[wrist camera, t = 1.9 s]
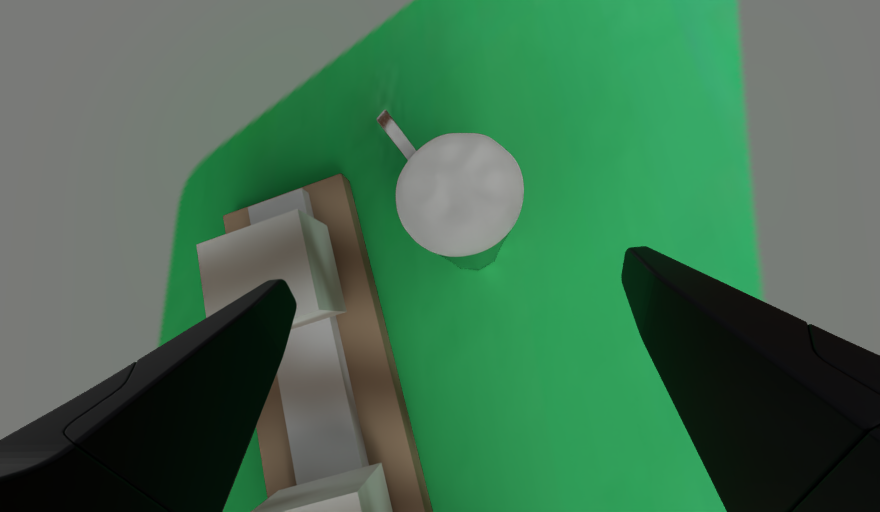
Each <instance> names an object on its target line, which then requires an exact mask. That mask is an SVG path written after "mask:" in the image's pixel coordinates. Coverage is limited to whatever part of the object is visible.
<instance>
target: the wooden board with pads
mask: <svg viewBox="0 0 880 512" xmlns="http://www.w3.org/2000/svg"><path fill="white" fill-rule="evenodd" d="M223 219H224V225H225V232H226V234H225V235H222V236H219V237H217V238H214V239H211V240H208V241H205V242H202V243H200V244H197V253H198V260H199V267H200V275H201V282H202V289H203V297H204V304H205V311H206V318H207V317H209V316H211V315H212V314H214V313H215V312H217V311H219V310H220V309H222V308H224V307H225V306H227V305H228V304H230V303H232V302H233V301H235V300H237V299H238V298H240V297H241V296H243V295H245V294H246V293H248V292H250V291H251V290H253V289H254V288H256V287H258V286H259V285H261V284H263V283H264V282H266V281H268V280H273V279H283V280H285V281H286V282H287V284H288V286H289V288H290V290H291V292H292V294H293V296H294V298H295V300H296V303H297V309H296V313H295V316H294V320H293V324H292V327H291V331H290V335H289V338H288V342H287V345H286V349H285V352H284V355H283V358H282V361H281V364H280V367H279V369H278V372H277V374H276V377H275V379H274V382H273V384H272V387H271V389H270V392H269V394H268V397H267V400H266V402H265V405H264V407H263V410H262V412H261V415H260V417H259V420H258V422H257V425H256V427H257V434H258V440H259V446H260V453H261V459H262V465H263V472H264V478H265V484H266V490H267V497H268V499H267V500H265V501H264V502H263V503H261V504H260V505H259V506H258V507H256V508H255V509H254V510H252V511H251V512H433V510H432V506H431V502H430V499H429V495H428V491H427V487H426V483H425V479H424V475H423V471H422V467H421V463H420V459H419V455H418V451H417V447H416V443H415V439H414V435H413V431H412V427H411V423H410V420H409V416H408V412H407V408H406V404H405V400H404V396H403V392H402V388H401V384H400V380H399V376H398V372H397V368H396V364H395V360H394V356H393V352H392V348H391V344H390V341H389V337H388V333H387V329H386V325H385V321H384V317H383V313H382V309H381V305H380V301H379V297H378V293H377V289H376V285H375V281H374V277H373V273H372V269H371V265H370V262H369V258H368V254H367V250H366V246H365V242H364V238H363V234H362V230H361V226H360V222H359V218H358V214H357V210H356V206H355V202H354V198H353V194H352V190H351V186H350V183H349V180H347V179H346V178H345V177H344V176H343V175H342V174H341V173H340V174H337V175H335V176H332V177H329V178H326V179H324V180H321V181H318V182H315V183H312V184H310V185H307V186H304V187H301V188H299V189H296V190H293V191H290V192H288V193H285V194H282V195H279V196H276V197H274V198H271V199H268V200H265V201H263V202H260V203H257V204H254V205H251V206H249V207H246V208H243V209H240V210H238V211H235V212H232V213H229V214H226V215H224V216H223Z"/></svg>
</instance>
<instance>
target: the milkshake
mask: <svg viewBox="0 0 880 512" xmlns="http://www.w3.org/2000/svg"><path fill="white" fill-rule="evenodd" d="M377 121H378V123H379V124H380V126H381V127H382V128H383V129H384V131H385V132H386V133H387V134H388V136H389V137H390V138H391V140H392V141H393V142H394V143H395V145H396V146H397V147H398V148H399V150H400V151H401V152H402V153H403V155H404V156H405V157H406V159H407V160H408V162H407V163H406V165H405V166H404V168H403V170H402V171H401V173H400V176H399V178H398V181H397V186H396V206H397V211H398V215H399V218H400V221H401V223H402V225H403V227H404V228H405V230H406V231H407V232H408V234H409V235H410V236H411V237H412V238H413V239H414V240H415V241H416V242H417V243H418V244H419V245H421V246H422V247H424V248H425V249H427V250H429V251H431V252H433V253H436V254H438V255H440V256H442V257H444V258H445V259H447V260H448V261H450V262H451V263H453V264H454V265H456V266H457V267H459V268H461V269H470V270H480V269H482V268H484V267H486V266H487V265H489V264H491V263H492V262H494V261H495V259H496V257H497V255H498V252H499V250H500V248H501V246H502V244H503V242H504V241H505V239H506V237H507V236H508V234H509V233H510V231H511V229H512V228H513V226H514V224H515V223H516V221H517V219H518V216H519V214H520V211H521V208H522V203H523V195H524V184H523V177H522V173H521V170H520V168H519V165H518V164H517V162H516V160H515V159H514V157H513V156H512V155H511V154H510V153H509V152H508V151H507V150H506V149H504V148H503V147H502V146H501V145H500V144H498V143H497V142H496V141H494V140H493V139H491V138H490V137H488V136H486V135H483V134H477V133H450V134H444V135H441V136H438V137H436V138H434V139H432V140H431V141H429V142H427V143H426V144H425V145H423V146H422V147H421V148H420V149H418V150H417V151H416V149H415V148H414V147H413V145H412V144H411V143H410V141H409V140H408V139H407V137H406V136H405V135H404V133H403V132H402V130H401V129H400V128H399V126H398V125H397V124H396V122H395V121H394V120H393V118H392V117H391V116H390V114H389V113H388V112H387V110H384V111H383V112H382V113H381V114H380V115H379V116H378V117H377Z"/></svg>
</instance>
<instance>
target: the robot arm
mask: <svg viewBox="0 0 880 512" xmlns="http://www.w3.org/2000/svg"><path fill="white" fill-rule="evenodd" d="M622 284H623V287H624V290H625V293H626V296H627V299H628V302H629V304H630V307H631V310H632V313H633V316H634V319H635V322H636V325H637V328H638V330H639V333H640V336H641V338H642V340H643V342H644V344H645V347H646V349H647V351H648V353H649V355H650V357H651V359H652V361H653V363H654V365H655V367H656V369H657V371H658V373H659V375H660V377H661V379H662V381H663V383H664V385H665V387H666V389H667V391H668V393H669V395H670V397H671V399H672V401H673V403H674V405H675V407H676V409H677V411H678V413H679V416H680V418H681V420H682V422H683V424H684V426H685V428H686V430H687V432H688V434H689V436H690V438H691V440H692V442H693V444H694V446H695V448H696V450H697V452H698V454H699V456H700V458H701V460H702V462H703V464H704V466H705V468H706V470H707V472H708V474H709V476H710V478H711V480H712V482H713V484H714V486H715V488H716V491H717V493H718V495H719V497H720V499H721V501H722V503H723V505H724V507H725V509H726V511H727V512H880V355H877V354H875V353H873V352H870V351H868V350H866V349H864V348H862V347H860V346H857V345H855V344H853V343H851V342H849V341H846V340H844V339H842V338H840V337H837V336H835V335H833V334H831V333H829V332H827V331H825V330H823V329H821V328H819V327H816V326H814V325H812V324H809V325H807V323H806V322H805V321H803V320H801V319H799V318H797V317H795V316H793V315H791V314H789V313H787V312H784V311H782V310H780V309H778V308H776V307H774V306H772V305H769V304H767V303H765V302H763V301H761V300H759V299H757V298H755V297H753V296H750V295H748V294H746V293H744V292H742V291H740V290H738V289H736V288H733V287H731V286H729V285H727V284H725V283H723V282H721V281H719V280H717V279H714V278H712V277H710V276H708V275H706V274H704V273H702V272H700V271H697V270H695V269H693V268H691V267H689V266H687V265H685V264H683V263H680V262H678V261H676V260H674V259H672V258H670V257H668V256H666V255H664V254H661V253H659V252H657V251H655V250H653V249H651V248H649V247H646V246H641V247H631V248H628V249H627V250H626V252H625V257H624V263H623V269H622ZM296 309H297V303H296V300H295V298H294V296H293V294H292V292H291V290H290V288H289V286H288V284H287V282H286V281H285V280H283V279H273V280H268V281H266V282H264V283H263V284H261V285H259V286H258V287H256V288H254V289H253V290H251V291H250V292H248V293H246V294H245V295H243V296H241V297H240V298H238V299H237V300H235V301H233V302H232V303H230V304H228V305H227V306H225V307H224V308H222V309H220V310H219V311H217V312H215V313H214V314H212V315H211V316H209V317H207V318H206V319H204V320H202V321H201V322H199V323H198V324H196V325H194V326H193V327H191V328H189V329H188V330H186V331H185V332H183V333H181V334H180V335H178V336H176V337H175V338H173V339H172V340H170V341H168V342H167V343H165V344H163V345H162V346H160V347H158V348H157V349H155V350H154V351H152V352H150V353H149V354H147V355H145V356H144V357H142V358H141V359H139V360H138V361H137V362H134V363H132V364H131V365H129V366H128V367H126V368H124V369H123V370H121V371H119V372H118V373H116V374H114V375H113V376H111V377H110V378H108V379H106V380H105V381H103V382H101V383H100V384H98V385H96V386H94V387H93V388H91V389H89V390H88V391H86V392H84V393H82V394H81V395H79V396H77V397H75V398H74V399H72V400H70V401H69V402H67V403H65V404H63V405H61V406H60V407H58V408H56V409H54V410H53V411H51V412H49V413H47V414H46V415H44V416H42V417H40V418H38V419H37V420H35V421H33V422H31V423H29V424H28V425H26V426H24V427H22V428H21V429H19V430H17V431H15V432H13V433H12V434H10V435H8V436H6V437H5V438H3V439H1V440H0V512H222V511H223V509H224V506H225V504H226V501H227V499H228V496H229V494H230V491H231V489H232V486H233V483H234V481H235V478H236V476H237V473H238V471H239V468H240V466H241V463H242V461H243V458H244V456H245V453H246V450H247V448H248V445H249V443H250V440H251V438H252V435H253V433H254V430H255V428H256V425H257V422H258V420H259V417H260V415H261V412H262V410H263V407H264V405H265V402H266V400H267V397H268V394H269V392H270V389H271V387H272V384H273V382H274V379H275V377H276V374H277V372H278V369H279V367H280V364H281V361H282V358H283V355H284V352H285V349H286V345H287V342H288V338H289V335H290V331H291V327H292V324H293V320H294V316H295V313H296Z"/></svg>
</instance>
